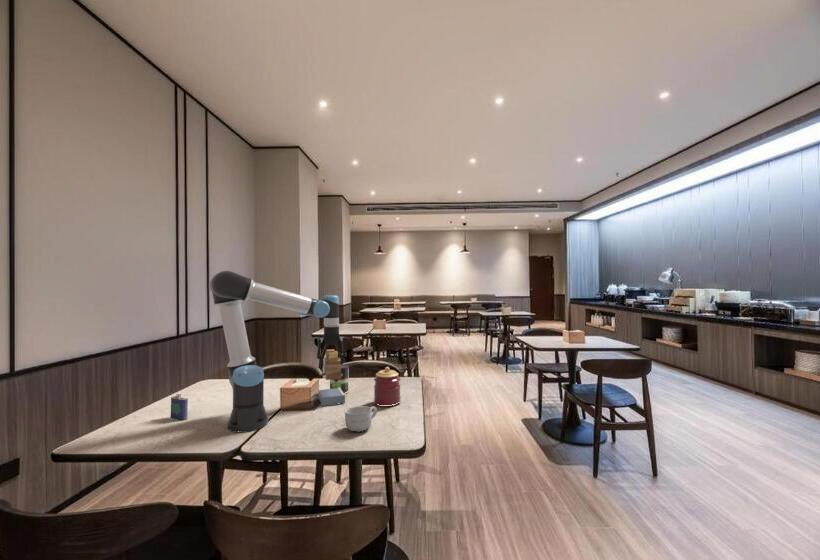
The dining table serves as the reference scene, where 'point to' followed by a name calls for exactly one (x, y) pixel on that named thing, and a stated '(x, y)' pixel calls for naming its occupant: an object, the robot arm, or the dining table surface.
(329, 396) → the dock
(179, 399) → the flask
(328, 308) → the robot arm
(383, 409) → the dining table surface
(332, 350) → the crate
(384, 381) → the canister
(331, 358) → the crate
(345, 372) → the coffee can
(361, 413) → the teacup
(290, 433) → the dining table surface
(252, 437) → the dining table surface
